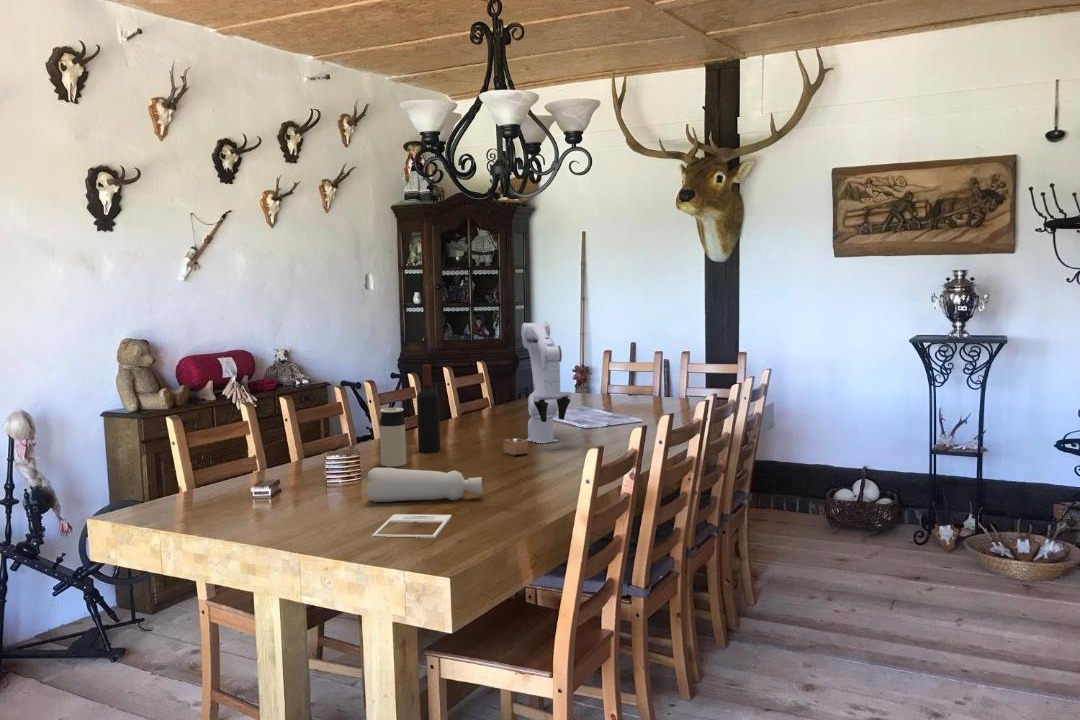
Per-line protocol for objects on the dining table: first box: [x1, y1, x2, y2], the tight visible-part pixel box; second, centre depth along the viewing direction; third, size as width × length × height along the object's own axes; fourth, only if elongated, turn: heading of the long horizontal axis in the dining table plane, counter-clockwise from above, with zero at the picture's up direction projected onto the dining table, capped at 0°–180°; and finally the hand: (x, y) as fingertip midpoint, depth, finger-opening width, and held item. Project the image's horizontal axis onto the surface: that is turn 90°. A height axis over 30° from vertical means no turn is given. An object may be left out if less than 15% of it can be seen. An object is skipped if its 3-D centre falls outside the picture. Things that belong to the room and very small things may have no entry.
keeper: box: [504, 438, 527, 457], centre depth 293 cm, size 5×5×5 cm
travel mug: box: [379, 407, 407, 468], centre depth 280 cm, size 8×8×18 cm
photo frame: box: [371, 513, 453, 539], centre depth 208 cm, size 15×1×18 cm
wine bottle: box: [416, 363, 441, 454], centre depth 302 cm, size 8×8×30 cm
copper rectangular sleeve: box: [502, 437, 529, 454], centre depth 293 cm, size 7×5×4 cm
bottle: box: [365, 467, 483, 503], centre depth 233 cm, size 9×9×30 cm
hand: (552, 420), depth 301 cm, fingers open, 7 cm apart
